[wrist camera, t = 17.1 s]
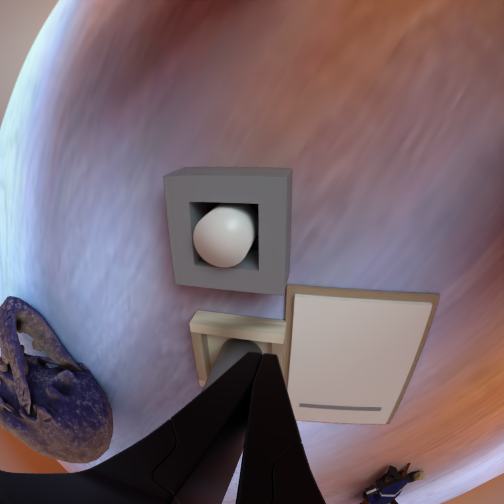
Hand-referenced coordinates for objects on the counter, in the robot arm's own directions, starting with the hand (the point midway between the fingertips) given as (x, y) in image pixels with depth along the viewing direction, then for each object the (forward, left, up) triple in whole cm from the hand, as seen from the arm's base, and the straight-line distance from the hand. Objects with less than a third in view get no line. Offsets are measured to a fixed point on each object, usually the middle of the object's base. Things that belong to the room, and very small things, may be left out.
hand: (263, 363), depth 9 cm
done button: (+4, 0, -12) cm, 12 cm away
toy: (-15, +36, -13) cm, 41 cm away
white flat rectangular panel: (-5, +12, -12) cm, 18 cm away
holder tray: (+4, +11, -12) cm, 17 cm away
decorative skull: (+27, +20, -13) cm, 36 cm away
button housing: (+4, 0, -12) cm, 13 cm away
